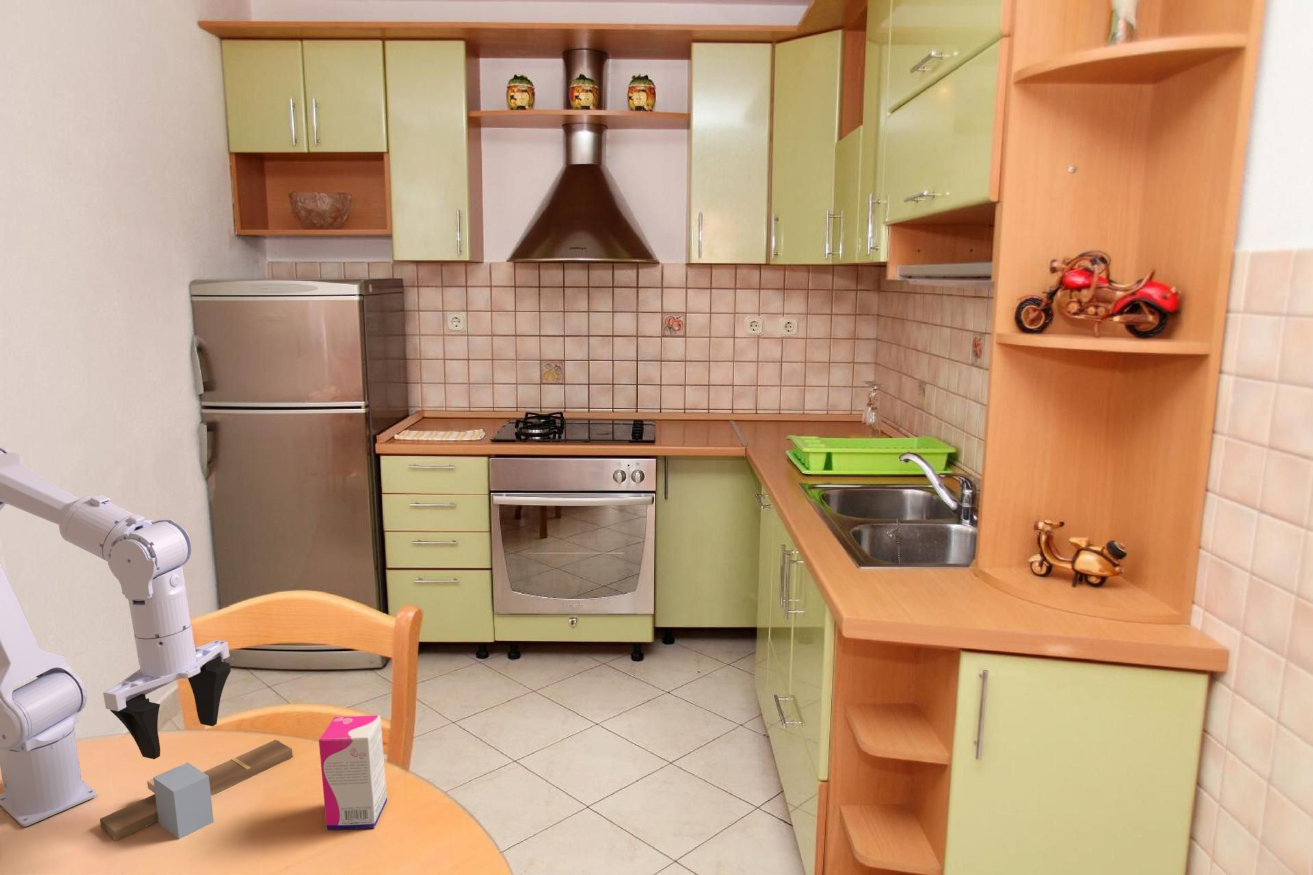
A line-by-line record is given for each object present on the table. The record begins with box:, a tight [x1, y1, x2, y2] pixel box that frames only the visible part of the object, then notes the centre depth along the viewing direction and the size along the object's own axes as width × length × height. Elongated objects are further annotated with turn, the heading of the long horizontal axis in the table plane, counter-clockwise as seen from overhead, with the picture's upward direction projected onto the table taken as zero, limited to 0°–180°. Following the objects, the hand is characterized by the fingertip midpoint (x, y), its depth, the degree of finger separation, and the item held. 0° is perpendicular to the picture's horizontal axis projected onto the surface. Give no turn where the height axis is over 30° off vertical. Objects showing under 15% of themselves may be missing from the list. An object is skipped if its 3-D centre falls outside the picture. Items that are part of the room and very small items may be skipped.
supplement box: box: [318, 715, 388, 831], centre depth 106 cm, size 6×6×12 cm
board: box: [99, 739, 293, 842], centre depth 112 cm, size 4×22×1 cm, turn 143°
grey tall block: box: [146, 762, 215, 840], centre depth 107 cm, size 10×4×6 cm, turn 53°
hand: (180, 739), depth 104 cm, fingers open, 7 cm apart
